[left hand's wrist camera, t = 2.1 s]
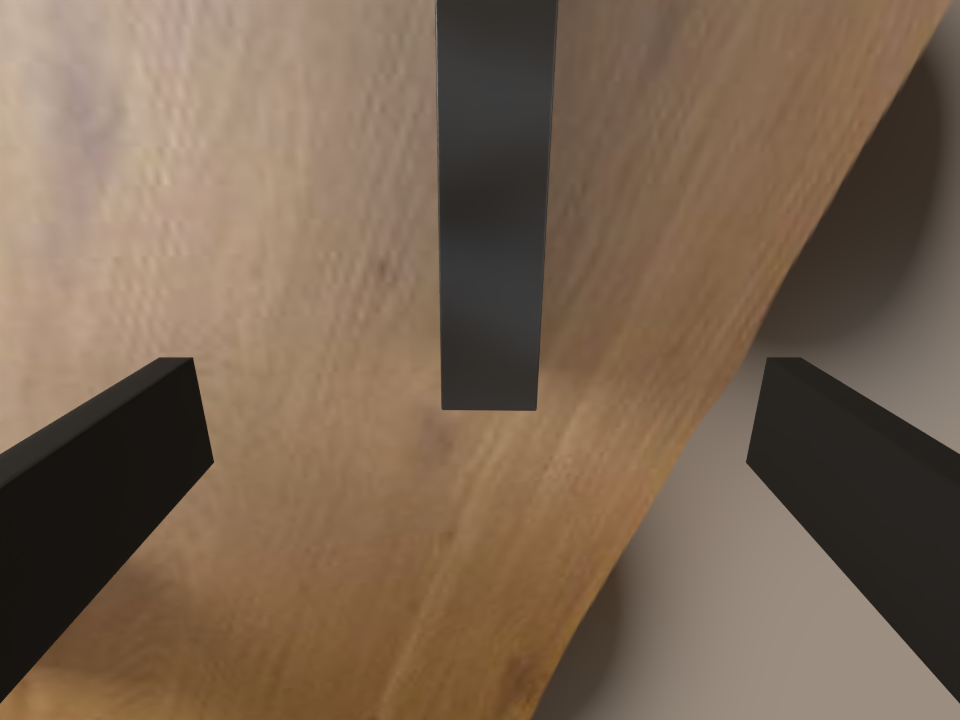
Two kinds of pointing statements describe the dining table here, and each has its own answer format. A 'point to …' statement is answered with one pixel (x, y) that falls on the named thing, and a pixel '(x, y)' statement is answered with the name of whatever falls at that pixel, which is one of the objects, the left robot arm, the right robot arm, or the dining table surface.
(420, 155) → the dining table surface
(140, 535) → the left robot arm
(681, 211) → the dining table surface
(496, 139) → the slate bar
